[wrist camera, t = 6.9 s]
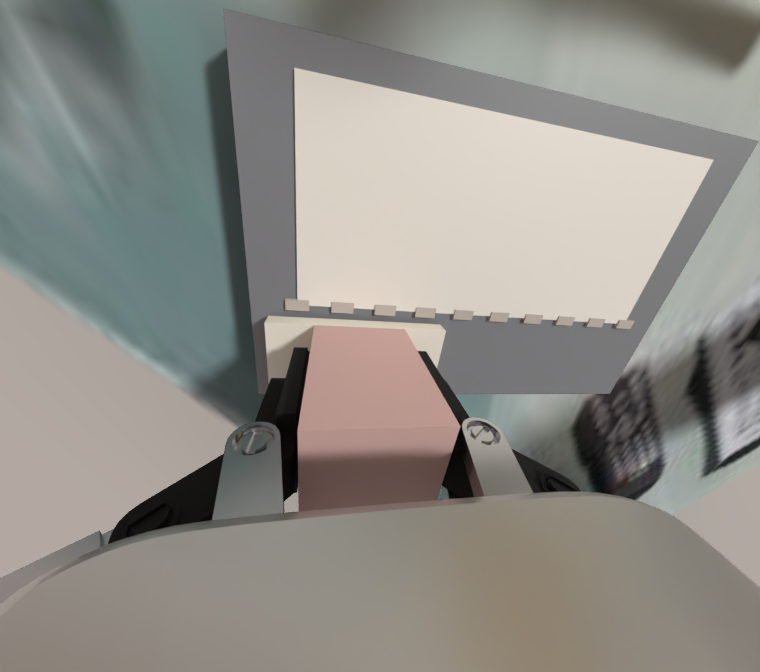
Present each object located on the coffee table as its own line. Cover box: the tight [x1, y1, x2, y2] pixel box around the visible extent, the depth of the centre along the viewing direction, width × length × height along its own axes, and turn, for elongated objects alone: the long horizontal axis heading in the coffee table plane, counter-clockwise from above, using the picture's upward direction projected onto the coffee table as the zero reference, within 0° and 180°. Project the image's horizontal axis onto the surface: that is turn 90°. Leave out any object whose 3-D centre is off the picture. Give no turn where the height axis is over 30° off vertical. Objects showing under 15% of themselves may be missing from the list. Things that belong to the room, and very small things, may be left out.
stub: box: [264, 316, 460, 512], centre depth 10 cm, size 8×4×7 cm, turn 83°
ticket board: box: [223, 9, 758, 394], centre depth 13 cm, size 22×14×2 cm, turn 83°
